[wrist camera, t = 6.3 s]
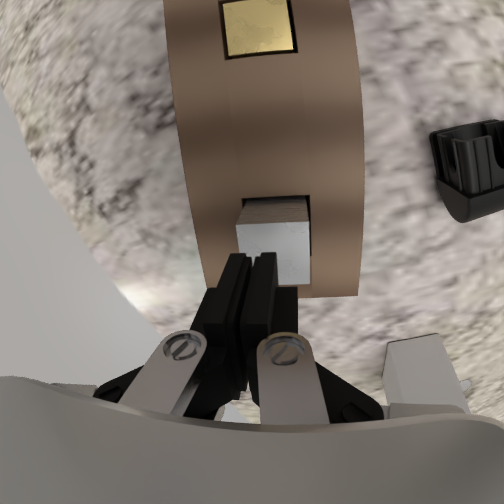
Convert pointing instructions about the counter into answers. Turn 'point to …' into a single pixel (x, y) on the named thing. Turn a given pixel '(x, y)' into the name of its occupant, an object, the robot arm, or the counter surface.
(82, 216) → the counter surface
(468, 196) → the end cap
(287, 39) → the brass peg
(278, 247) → the steel peg
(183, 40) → the walnut block
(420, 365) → the milk carton
